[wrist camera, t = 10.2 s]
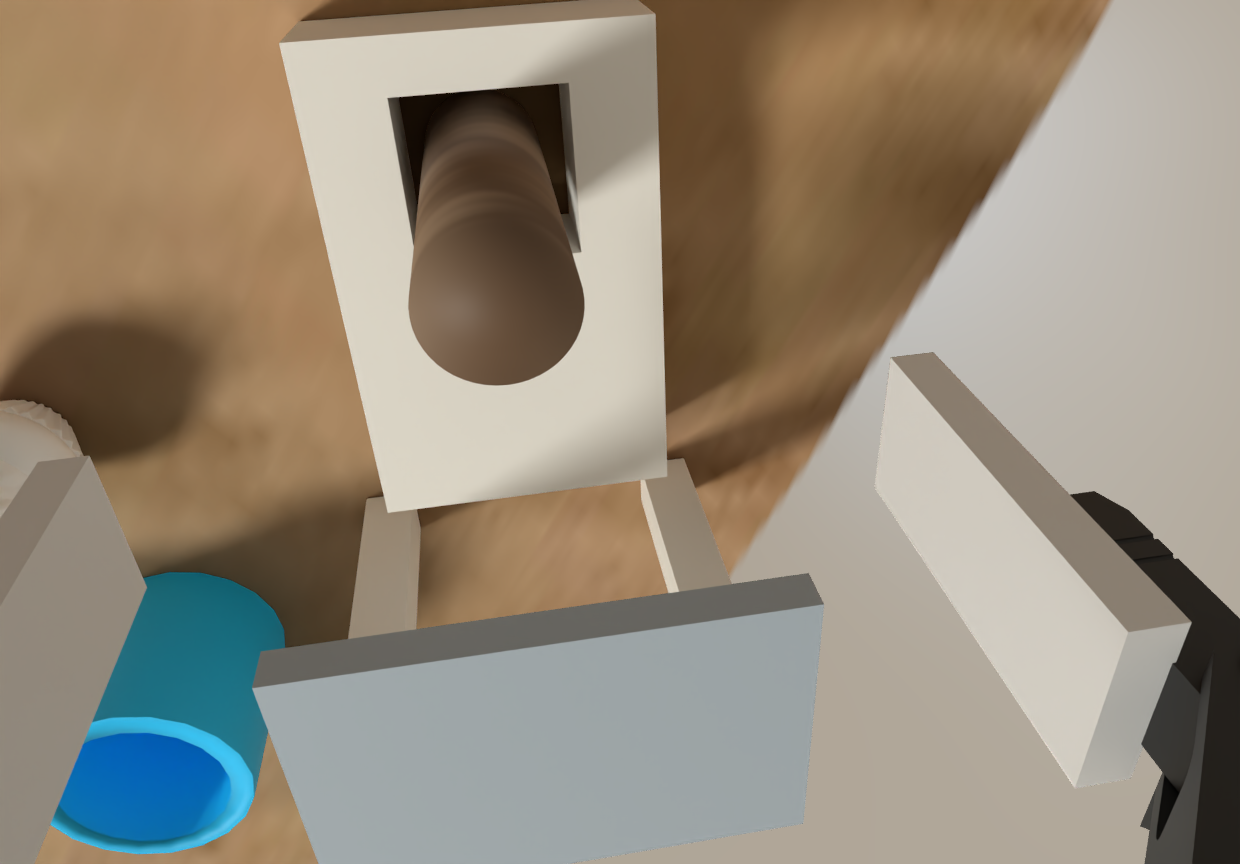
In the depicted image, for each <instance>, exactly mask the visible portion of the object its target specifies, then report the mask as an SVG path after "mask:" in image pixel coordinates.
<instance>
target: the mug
mask: <svg viewBox="0 0 1240 864" xmlns="http://www.w3.org/2000/svg"><path fill="white" fill-rule="evenodd" d="M143 579H144V581H145V584H146V586H147V589H146V591H145V593H144V596H143V598H142V601H141V603H140V606H139V608H138V611H137V613H136V616H135V618H134V620H133V623H132V625H131V628H130V630H129V633H128V635H127V638H126V640H125V642H124V645H123V647H122V650H121V652H120V655H119V657H118V660H117V662H116V665H115V667H114V669H113V672H112V674H111V677H110V679H109V682H108V684H107V687H106V689H105V691H104V694H103V696H102V699H101V701H100V704H99V706H98V709H97V711H96V714H95V716H94V718H93V721H92V723H91V726H90V728H89V731H88V733H87V736H86V738H85V740H84V743H83V745H82V748H81V750H80V753H79V755H78V758H77V760H76V762H75V765H74V767H73V770H72V772H71V775H70V777H69V780H68V782H67V785H66V787H65V789H64V792H63V794H62V797H61V799H60V802H59V804H58V807H57V809H56V811H55V814H54V816H53V819H52V821H51V824H50V825H52V826H53V827H55V828H56V829H58V830H60V831H61V832H63V833H64V834H66V835H68V836H69V837H71V838H72V839H75V840H78V841H81V842H84V843H87V844H89V845H92V846H95V847H98V848H101V849H104V850H112V851H119V852H127V853H134V854H150V853H172V852H176V851H180V850H184V849H189V848H193V847H197V846H201V845H204V844H206V843H208V842H210V841H212V840H214V839H216V838H218V837H220V836H222V835H224V834H226V833H228V832H229V831H230V830H231V829H232V828H233V827H234V826H236V825H237V824H238V823H239V822H240V821H241V820H242V819H243V818H244V817H245V816H246V814H247V812H248V810H249V807H250V805H251V803H252V801H253V798H254V796H255V791H256V786H257V782H258V777H259V772H260V767H261V763H262V758H263V753H264V748H265V744H266V739H267V734H268V729H267V726H266V724H265V721H264V719H263V716H262V713H261V711H260V708H259V705H258V703H257V700H256V697H255V695H254V692H253V690H252V686H253V682H254V678H255V674H256V670H257V665H258V661H259V657H260V653H261V651H268V650H275V649H282V648H285V636H284V628H283V626H282V625H281V623H280V621H279V619H278V617H277V615H276V613H275V611H274V610H273V609H272V608H271V607H270V606H269V605H268V604H267V603H266V602H265V601H264V600H263V599H262V598H261V597H260V596H258V595H257V594H256V593H255V592H253V591H251V590H249V589H247V588H245V587H243V586H241V585H239V584H237V583H235V582H233V581H232V580H229V579H225V578H221V577H216V576H212V575H208V574H204V573H192V572H168V573H163V574H159V575H154V576H150V577H146V578H143Z"/></svg>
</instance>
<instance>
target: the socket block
mask: <svg viewBox="0 0 1240 864" xmlns="http://www.w3.org/2000/svg"><path fill="white" fill-rule="evenodd" d="M279 45H280V49H281V53H282V58H283V62H284V66H285V71H286V75H287V79H288V84H289V88H290V92H291V96H292V101H293V105H294V109H295V114H296V118H297V122H298V127H299V131H300V135H301V140H302V144H303V148H304V153H305V157H306V161H307V166H308V170H309V174H310V179H311V183H312V187H313V192H314V196H315V200H316V205H317V209H318V213H319V217H320V222H321V226H322V230H323V235H324V239H325V243H326V248H327V252H328V256H329V261H330V265H331V269H332V274H333V278H334V282H335V287H336V291H337V295H338V300H339V304H340V308H341V313H342V317H343V321H344V326H345V330H346V334H347V338H348V343H349V347H350V351H351V356H352V360H353V364H354V369H355V373H356V377H357V382H358V386H359V390H360V395H361V399H362V403H363V408H364V412H365V416H366V421H367V425H368V429H369V434H370V438H371V442H372V447H373V451H374V455H375V459H376V464H377V468H378V472H379V477H380V481H381V485H382V490H383V494H384V498H385V503H386V507H387V511H388V513H391V512H398V511H406V510H414V509H421V508H429V507H437V506H445V505H452V504H460V503H468V502H475V501H483V500H491V499H499V498H506V497H514V496H522V495H529V494H537V493H545V492H553V491H560V490H568V489H576V488H583V487H591V486H599V485H607V484H614V483H622V482H630V481H637V480H645V479H653V478H661V477H667V444H666V405H665V366H664V327H663V288H662V249H661V210H660V170H659V131H658V92H657V53H656V14H655V13H654V12H652V11H651V10H650V9H649V8H647V7H646V6H645V5H644V4H642V3H641V2H640V1H639V0H578V1H565V2H552V3H538V4H525V5H512V6H498V7H485V8H472V9H458V10H445V11H432V12H418V13H405V14H392V15H379V16H365V17H352V18H339V19H325V20H312V21H299V22H298V23H297V24H296V25H295V26H294V27H293V28H292V29H291V30H290V32H289V33H288V34H287V35H286V36H285V37H284V38H283V39H282V40H281V42H280V43H279ZM547 84H559V94H560V107H561V119H562V132H563V144H564V156H565V169H566V181H567V194H568V206H569V214H561V217H562V220H563V224H564V227H565V230H566V234H567V237H568V241H569V244H570V247H571V251H572V254H573V257H574V261H575V264H576V267H577V271H578V274H579V277H580V281H581V284H582V288H583V293H584V301H585V310H584V318H583V322H582V326H581V330H580V332H579V334H578V337H577V339H576V341H575V342H574V344H573V346H572V347H571V349H570V350H569V351H568V353H567V354H566V355H565V356H564V357H563V358H562V359H561V360H560V361H559V362H558V363H557V364H556V365H555V366H553V367H552V368H551V369H549V370H548V371H546V372H545V373H543V374H541V375H539V376H537V377H535V378H533V379H530V380H527V381H524V382H521V383H516V384H511V385H499V386H494V385H483V384H477V383H473V382H469V381H466V380H463V379H461V378H458V377H456V376H454V375H452V374H450V373H449V372H447V371H445V370H444V369H442V368H441V367H440V366H438V365H437V364H436V363H435V362H434V361H433V360H432V359H431V358H430V357H429V356H428V355H427V354H426V352H425V351H424V350H423V349H422V347H421V346H420V344H419V342H418V341H417V339H416V337H415V334H414V332H413V329H412V326H411V322H410V318H409V310H408V301H409V289H410V279H411V269H412V259H413V249H414V240H415V230H416V220H417V210H418V207H417V201H416V195H415V190H414V184H413V178H412V172H411V166H410V160H409V155H408V149H407V143H406V137H405V131H404V125H403V120H402V114H401V108H400V102H399V97H405V96H417V95H428V94H440V93H452V92H464V91H476V90H488V89H500V88H512V87H523V86H535V85H547Z"/></svg>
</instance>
